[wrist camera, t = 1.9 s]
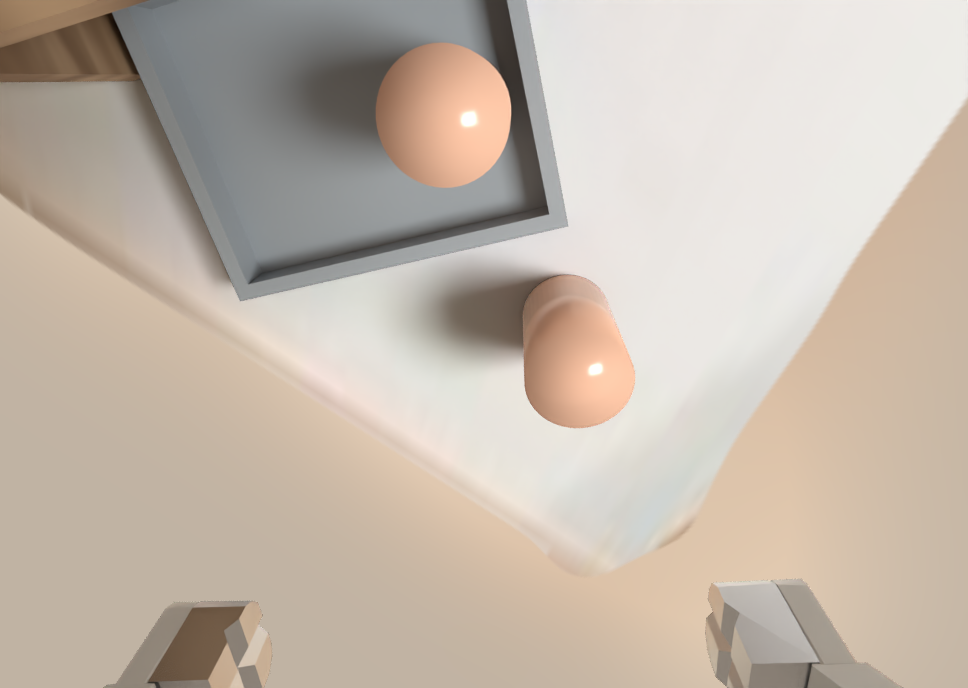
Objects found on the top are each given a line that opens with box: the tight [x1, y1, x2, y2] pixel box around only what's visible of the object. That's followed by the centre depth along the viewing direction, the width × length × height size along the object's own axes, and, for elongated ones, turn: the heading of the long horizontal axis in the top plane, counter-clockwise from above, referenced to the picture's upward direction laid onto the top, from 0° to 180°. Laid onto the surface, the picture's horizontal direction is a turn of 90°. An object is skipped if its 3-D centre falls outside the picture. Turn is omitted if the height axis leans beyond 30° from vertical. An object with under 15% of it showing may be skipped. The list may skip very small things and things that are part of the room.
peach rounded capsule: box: [523, 275, 635, 428], centre depth 30 cm, size 5×5×8 cm
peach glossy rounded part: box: [376, 43, 512, 188], centre depth 25 cm, size 5×5×8 cm
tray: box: [112, 0, 568, 301], centre depth 28 cm, size 18×15×3 cm
